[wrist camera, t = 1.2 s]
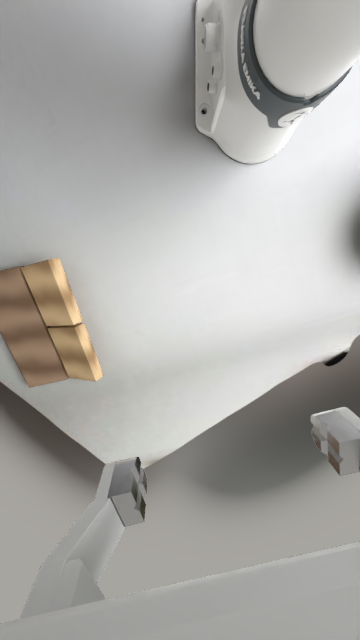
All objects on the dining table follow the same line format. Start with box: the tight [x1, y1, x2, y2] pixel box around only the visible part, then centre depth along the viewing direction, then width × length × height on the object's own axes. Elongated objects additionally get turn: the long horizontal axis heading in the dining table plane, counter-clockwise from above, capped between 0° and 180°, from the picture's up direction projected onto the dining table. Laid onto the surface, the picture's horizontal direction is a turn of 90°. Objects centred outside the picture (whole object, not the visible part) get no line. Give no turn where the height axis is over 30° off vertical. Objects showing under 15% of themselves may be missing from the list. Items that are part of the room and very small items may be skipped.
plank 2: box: [48, 323, 103, 381], centre depth 43 cm, size 11×8×2 cm
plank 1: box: [21, 258, 83, 326], centre depth 39 cm, size 11×8×2 cm
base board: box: [0, 266, 69, 388], centre depth 43 cm, size 23×8×2 cm, turn 12°
